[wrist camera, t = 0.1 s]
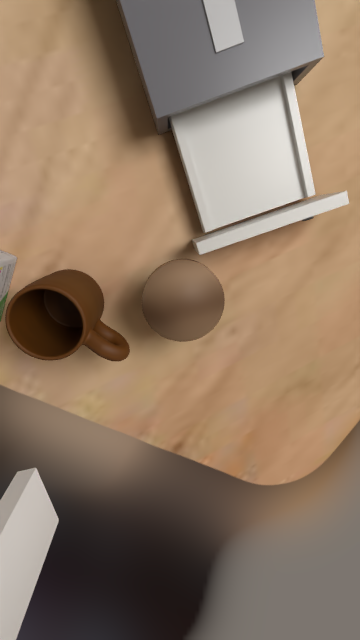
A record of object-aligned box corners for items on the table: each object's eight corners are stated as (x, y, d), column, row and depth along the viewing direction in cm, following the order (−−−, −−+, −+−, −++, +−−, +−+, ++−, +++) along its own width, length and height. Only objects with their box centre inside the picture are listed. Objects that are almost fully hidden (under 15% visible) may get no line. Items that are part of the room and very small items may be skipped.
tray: (146, 95, 33) (142, 72, 28) (291, 41, 32) (315, 6, 27) (196, 254, 38) (201, 259, 33) (323, 210, 37) (349, 208, 32)
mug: (149, 306, 40) (145, 332, 31) (120, 357, 41) (107, 395, 32) (57, 255, 38) (22, 267, 29) (30, 311, 39) (-10, 339, 30)
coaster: (131, 274, 33) (129, 277, 31) (208, 247, 32) (210, 249, 31) (158, 345, 35) (158, 351, 33) (231, 322, 34) (234, 326, 33)
